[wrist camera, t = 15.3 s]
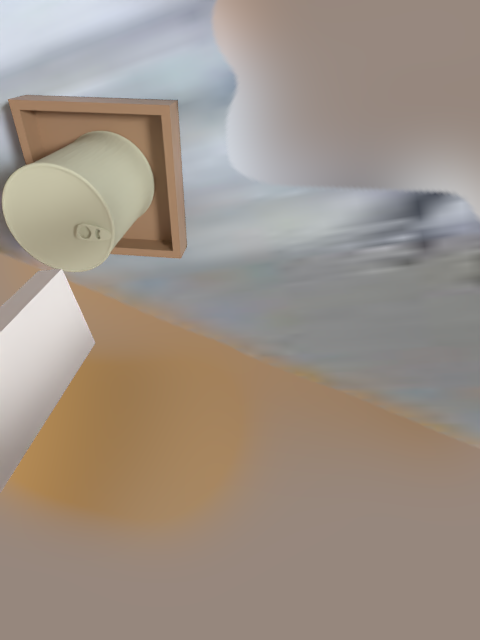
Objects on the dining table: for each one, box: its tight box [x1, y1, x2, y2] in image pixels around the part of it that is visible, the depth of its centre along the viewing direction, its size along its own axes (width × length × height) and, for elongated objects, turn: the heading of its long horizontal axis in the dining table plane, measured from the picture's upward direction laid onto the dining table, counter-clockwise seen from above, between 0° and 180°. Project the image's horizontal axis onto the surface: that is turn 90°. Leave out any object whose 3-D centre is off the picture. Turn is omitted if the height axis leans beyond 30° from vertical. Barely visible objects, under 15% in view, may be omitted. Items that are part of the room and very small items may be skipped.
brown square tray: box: [8, 95, 187, 258], centre depth 41 cm, size 15×15×3 cm
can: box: [2, 131, 154, 272], centre depth 37 cm, size 9×9×12 cm
